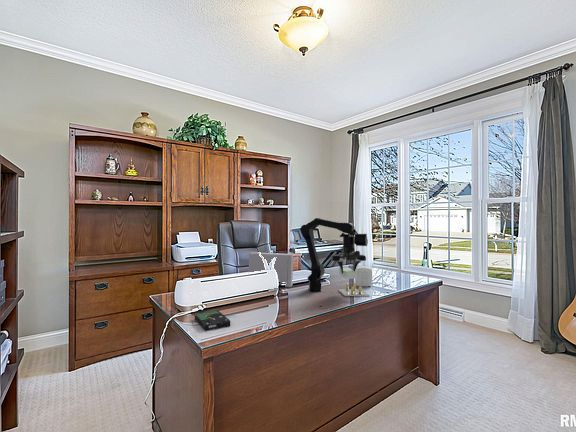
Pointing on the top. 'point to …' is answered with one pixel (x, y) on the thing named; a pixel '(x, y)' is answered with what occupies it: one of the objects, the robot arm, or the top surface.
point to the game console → (281, 265)
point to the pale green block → (348, 273)
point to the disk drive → (212, 320)
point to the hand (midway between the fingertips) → (348, 273)
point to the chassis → (353, 291)
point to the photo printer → (364, 276)
